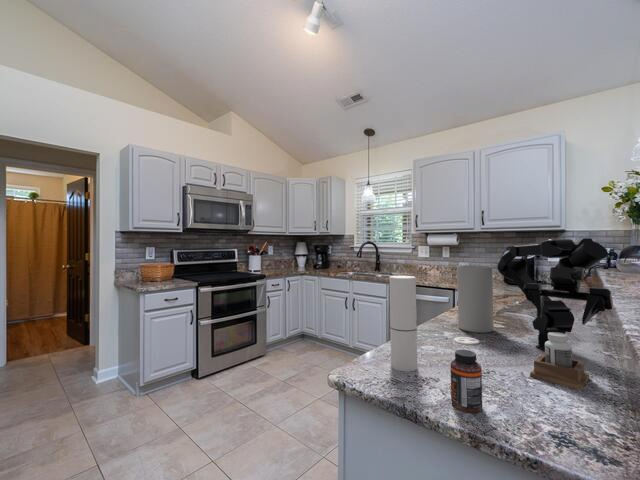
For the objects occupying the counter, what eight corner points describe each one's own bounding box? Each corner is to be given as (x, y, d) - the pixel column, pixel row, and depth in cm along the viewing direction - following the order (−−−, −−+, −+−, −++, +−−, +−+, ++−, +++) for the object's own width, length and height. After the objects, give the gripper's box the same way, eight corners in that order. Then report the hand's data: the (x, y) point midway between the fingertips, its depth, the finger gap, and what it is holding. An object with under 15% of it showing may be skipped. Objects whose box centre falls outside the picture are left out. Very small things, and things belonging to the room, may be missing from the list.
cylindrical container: (417, 363, 87) (416, 275, 88) (417, 373, 81) (415, 278, 81) (392, 360, 90) (390, 275, 90) (389, 369, 83) (388, 277, 83)
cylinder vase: (451, 327, 124) (450, 266, 125) (472, 323, 130) (471, 264, 130) (478, 335, 113) (477, 268, 113) (500, 331, 118) (499, 266, 119)
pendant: (450, 339, 109) (449, 337, 109) (479, 338, 110) (479, 336, 110) (460, 346, 102) (460, 343, 102) (491, 345, 103) (491, 342, 103)
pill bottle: (576, 374, 76) (574, 334, 76) (567, 379, 73) (566, 338, 74) (551, 367, 81) (549, 330, 81) (542, 371, 78) (540, 333, 78)
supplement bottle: (447, 398, 67) (446, 347, 67) (475, 399, 66) (474, 347, 67) (456, 413, 61) (455, 356, 61) (487, 415, 60) (486, 357, 61)
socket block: (541, 366, 84) (540, 351, 84) (589, 377, 76) (588, 361, 76) (530, 376, 77) (529, 361, 77) (581, 390, 70) (580, 373, 70)
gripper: (524, 255, 91) (512, 297, 84) (609, 257, 77) (604, 307, 70) (532, 280, 96) (522, 321, 89) (614, 285, 82) (610, 334, 75)
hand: (560, 320), depth 80 cm, fingers open, 9 cm apart
